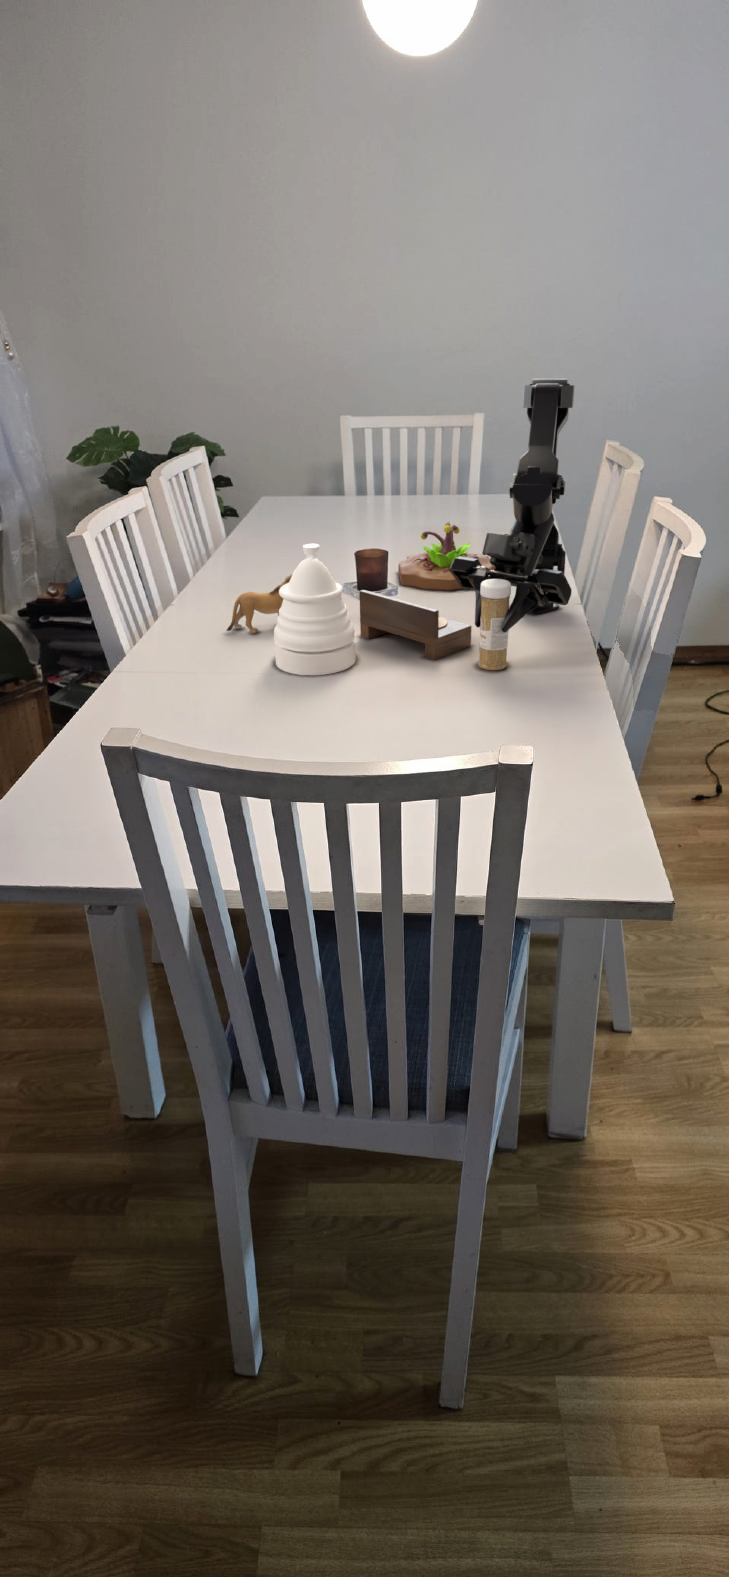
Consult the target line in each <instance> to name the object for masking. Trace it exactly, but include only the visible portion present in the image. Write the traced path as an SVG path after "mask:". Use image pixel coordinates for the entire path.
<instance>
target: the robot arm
mask: <svg viewBox="0 0 729 1577" xmlns="http://www.w3.org/2000/svg"><path fill="white" fill-rule="evenodd" d="M574 399H575V385H573V384H570V383H569V379H568V378H532V381H531V383H529V384H528V385H523V398H522V408H523V409H526V415H527V419H528V420H527V421H528V422H529V424H530V427H529V434H528V435H529V436H528V444H527V451H526V452H525V453H524V454H523V455H521V457H520V458H519V460H518V462H517V463H518V464H517V471H516V473H512V477H511V481H510V485H509V499H512V504H513V505H512V506H513V515H514V518H515V519H514V522H513V524H512V526H511V528H510V531H509V533H504V534H500V533H493V532H487V533H486V535H485V539H484V544H483V548H482V553H481V555H485V556H488V557H489V559H490V560H489V561H490V563H491V565H494V566H495V569H494V570H490V569H488V568H486V567H483V566H482V565H481V563H480V562H479V560H478V559H474V558H468V557H461V556H459V557H457V558H455V559H454V560H453V562H452V564H451V566H450V569H449V570H450V572H451V573H452V575H453V576H454V578H455V579H456V581H457V582H458V584H459V585H460V587H462V588H464V589H463V590H470V591H474V592H475V606H474V607H475V608H474V626H475V627H476V628H480V618H481V600H482V598H481V594H480V589H481V583H482V582H483V581H484V580H488V579H503V580H507V581H509V582H510V583H511V587H514V588H515V587H516V588H515V595H514V597H513V599H512V602H511V603H510V605H509V610H508V613H507V615H506V617H505V619H504V622H503V625H502V631H503V632H507V631H508V632H509V631H510V630H511V628H513V627H514V626H515V625H516V624H517V623H518V622H519V621H520V620H522V619H523V618H525V616H527V615H528V614H532V615H538V614H542V613H545V612H548V611H549V612H550V611H553V610H556V609H560V606H566V605H568V604H569V601H570V599H571V597H572V591H573V590H572V587H571V585H570V584H569V581H568V579H567V577H566V575H565V572H566V571H565V570H566V550H564V546H563V543H562V542H561V543H559V542H560V534H559V531H558V529H557V527H556V525H555V515H554V513H553V508H554V507H553V505H555V504H556V503H557V500H560V499H561V497H562V496H565V491H566V481H565V480H564V477H563V474H562V473H561V474H559V463H560V462H559V461H560V460H559V459H558V457H557V455H558V454H557V453H558V441H559V434H560V433H561V431H562V430H563V428H564V427H565V425H566V424H567V422H568V421H569V412H570V409H573V408H574V401H575V400H574Z"/></svg>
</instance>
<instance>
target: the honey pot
mask: <svg viewBox="0 0 729 1577" xmlns="http://www.w3.org/2000/svg"><path fill="white" fill-rule="evenodd" d="M302 550H303V553H304V555H305V556H306V557H305V558H304V559H303V560H301V562H299V564H298V565H297V566H296V567H295V569H294V571H293V573H292V574H293V575H292V577H291V579H290V581H289V583H287V584H285V585H283V586H282V587H281V588H280V589H279V595H280V596H281V597H282V598H283V602H282V606H281V608H280V609H279V617H277V619H276V625H275V626H274V630H273V641H274V642H273V643H274V656H275V666H276V667H277V668H278V669H279V670H281V671H282V672H283V671H284V672H285V673H290V674H293V675H300V676H324V675H330V674H335V673H339V672H342V671H345V670H347V669H349V668H350V667H352V666H354V664H355V662H356V659H357V658H356V640H355V638H356V635H355V632H356V631H355V627H354V623H353V622H352V621H351V616H350V614H349V613H348V607H347V605H346V604H345V603H344V599H343V597H342V594H343V592H344V588H343V586H342V584H340V583H338V582H336V581H335V579H334V578H333V575H332V574H331V573H330V572H331V571H330V570H328V567H327V566H326V565H325V564H324V563H323V562H322V561H321V560H320V559H319V558H316V557H317V556H318V554H319V552H320V544H318V543H305V544H303V545H302Z"/></svg>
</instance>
